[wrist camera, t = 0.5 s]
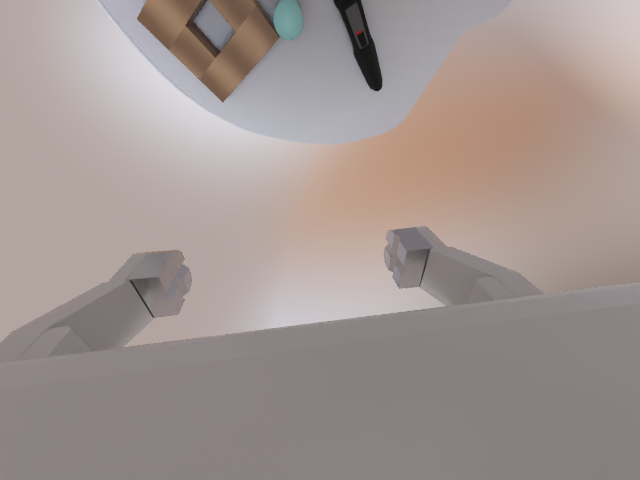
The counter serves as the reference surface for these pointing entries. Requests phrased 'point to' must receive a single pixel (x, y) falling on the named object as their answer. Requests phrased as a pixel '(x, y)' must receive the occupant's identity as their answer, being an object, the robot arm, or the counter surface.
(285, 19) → the peg
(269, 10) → the counter surface
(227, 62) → the socket block
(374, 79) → the electric trimmer
